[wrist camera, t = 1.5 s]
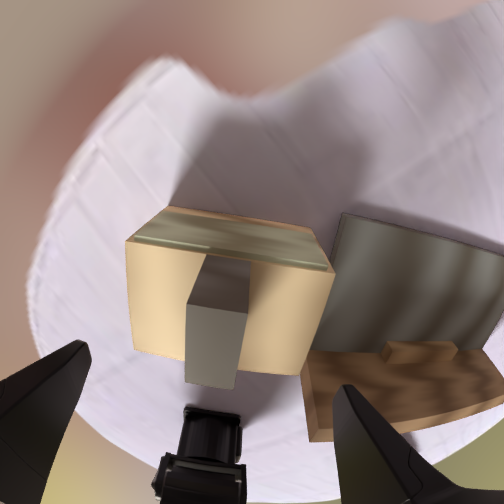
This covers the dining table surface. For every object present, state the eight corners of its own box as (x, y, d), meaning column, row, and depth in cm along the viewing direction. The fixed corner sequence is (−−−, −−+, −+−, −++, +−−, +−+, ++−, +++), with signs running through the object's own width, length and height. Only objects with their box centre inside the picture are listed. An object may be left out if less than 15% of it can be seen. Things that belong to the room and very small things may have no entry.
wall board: (296, 361, 24) (307, 445, 16) (342, 212, 18) (400, 271, 10) (468, 359, 25) (499, 406, 17) (518, 260, 19) (567, 299, 11)
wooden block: (164, 291, 21) (110, 398, 11) (168, 201, 18) (80, 274, 8) (288, 310, 22) (306, 430, 12) (311, 223, 19) (364, 319, 9)
